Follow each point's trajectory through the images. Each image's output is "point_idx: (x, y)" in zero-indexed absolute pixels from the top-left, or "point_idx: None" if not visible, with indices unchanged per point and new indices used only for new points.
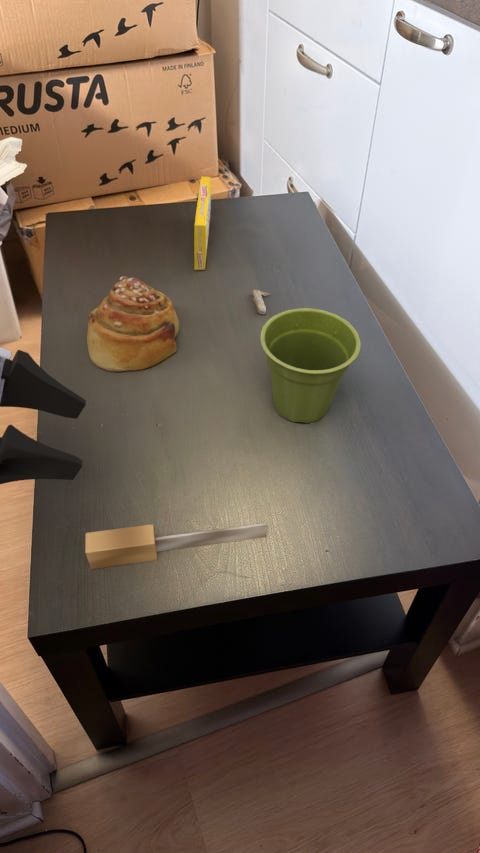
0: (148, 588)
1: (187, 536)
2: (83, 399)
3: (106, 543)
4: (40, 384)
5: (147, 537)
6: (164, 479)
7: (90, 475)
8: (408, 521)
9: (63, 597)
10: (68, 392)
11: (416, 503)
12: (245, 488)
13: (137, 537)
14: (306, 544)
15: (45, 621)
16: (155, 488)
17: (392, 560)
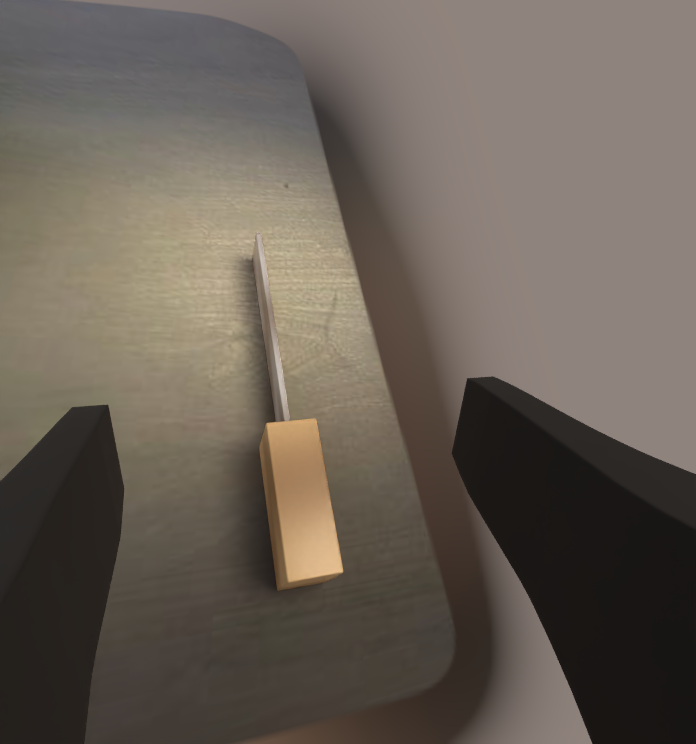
0: (364, 457)
1: (281, 366)
2: (75, 410)
3: (317, 524)
4: (30, 608)
5: (301, 433)
6: None
7: None
8: (237, 83)
9: (394, 633)
10: (61, 453)
11: (204, 64)
12: (138, 276)
13: (301, 454)
14: (273, 208)
15: (448, 662)
16: None
17: (303, 119)
